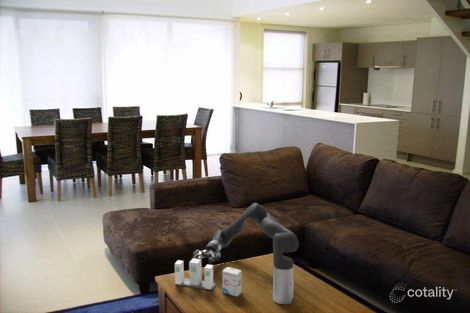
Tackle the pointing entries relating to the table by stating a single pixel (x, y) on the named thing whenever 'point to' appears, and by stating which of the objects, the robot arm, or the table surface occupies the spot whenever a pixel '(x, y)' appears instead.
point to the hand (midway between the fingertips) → (201, 260)
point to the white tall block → (195, 271)
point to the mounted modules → (180, 274)
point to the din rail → (201, 285)
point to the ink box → (232, 281)
